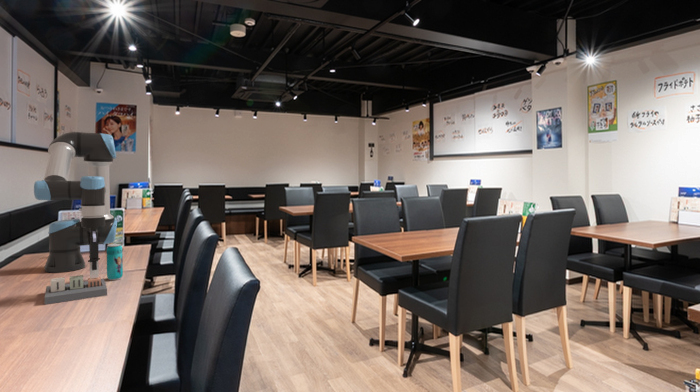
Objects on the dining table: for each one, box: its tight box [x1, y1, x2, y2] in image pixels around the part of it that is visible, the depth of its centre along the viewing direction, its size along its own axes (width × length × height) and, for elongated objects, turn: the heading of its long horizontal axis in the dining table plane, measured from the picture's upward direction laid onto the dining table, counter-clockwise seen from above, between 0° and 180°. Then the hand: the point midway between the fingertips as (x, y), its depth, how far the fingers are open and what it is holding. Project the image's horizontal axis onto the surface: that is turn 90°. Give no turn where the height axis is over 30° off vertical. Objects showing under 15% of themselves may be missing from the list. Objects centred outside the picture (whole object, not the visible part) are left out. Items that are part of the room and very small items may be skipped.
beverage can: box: [106, 243, 124, 282], centre depth 158 cm, size 6×6×15 cm
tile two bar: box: [69, 274, 84, 290], centre depth 138 cm, size 4×4×4 cm
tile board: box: [43, 278, 108, 305], centre depth 138 cm, size 16×18×2 cm
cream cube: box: [50, 276, 66, 292], centre depth 134 cm, size 4×4×4 cm
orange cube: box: [87, 276, 102, 288], centre depth 141 cm, size 4×4×4 cm
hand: (94, 277), depth 141 cm, fingers closed
